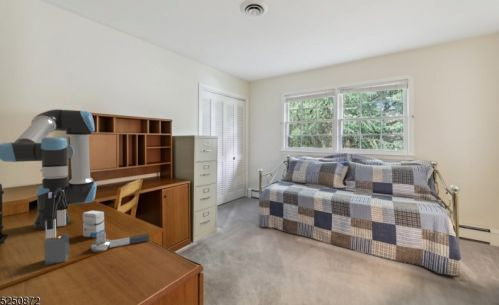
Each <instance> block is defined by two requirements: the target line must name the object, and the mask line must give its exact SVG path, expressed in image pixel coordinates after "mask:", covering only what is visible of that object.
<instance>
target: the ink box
mask: <svg viewBox="0 0 499 305" xmlns="http://www.w3.org/2000/svg"><path fill="white" fill-rule="evenodd" d="M82 229H83V230H82V231H83V232H82V233H83V234H82V236H83V237H87V238H93V239H94V238H95V239H97V233H101V232H105V211H101V210H89V211H84V212H83V213H82Z"/></svg>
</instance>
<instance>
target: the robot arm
mask: <svg viewBox="0 0 499 305" xmlns="http://www.w3.org/2000/svg"><path fill="white" fill-rule="evenodd" d="M55 131H56V132H57V131H60V132H65V134H66V136H67V137H68V138H69V143H68V139H66V137H49V135H50V134H51V133H53V132H55ZM95 131H96V129H95V122H94V117H93V115H92V113H91V112H89V111H86V110H75V109H73V110H72V109H58V108H57V109H51V110H46V111H44V112H42V113H39V114H37V115H36V116H34V117H32V120H31V123H30V125H29V126H28V127H27V128H26V130H25V131H24V132H22V134H21V135H20V136H19V137H18V138H17V139H16V140H15V141H14V142H2V143H0V160H1V161H2V162H5V163H6V162H11V163H19V162H20V163H21V162H22V163H23V162H24V163H25V162H41V168H40V170H39V171H40V172H41V174H42V176H41V177H43V178H42V183H41V184H42V185H41V186H39V187H37V191H36V199H37V200H36V201H37V202H36V203H37V214H36V218H35V219H34V223H33V229H35V230H45V239H48V238H53V237H56V235H57V228H59V227H62V226H67V225H68V224H69V223H70V222H71V220H70V216H69V213H68V212H67V210H68V209H69V206H70V205H79V204H80V205H81V204H87V203H93V202H94V201H95V198H96V194H97V193H96V192H97V186H98V183H97V182H95V181H94V179H93V178H92V177H91V165H90V164H91V163H90V137H91V136H92V135H93V134H92V133H94V132H95ZM68 160H70V165H71V166H70V167H71V179H70V180H69V178H68V177H67V176H68V175H69V167H68V166H69V165H68Z"/></svg>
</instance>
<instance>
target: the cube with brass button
mask: <svg viewBox="0 0 499 305" xmlns="http://www.w3.org/2000/svg"><path fill="white" fill-rule="evenodd" d="M69 235H70V234H69V233H63V234H56V237H53V238H46V240H45V241H44V244H43V245H44V264H45V265H46V266H50V265H49V264H51V265H55V264H54V263H56V264H60V262H62V263H65V261H66V262H67V260H68V258H69V256H70V236H69Z"/></svg>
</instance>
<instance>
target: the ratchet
mask: <svg viewBox="0 0 499 305" xmlns="http://www.w3.org/2000/svg"><path fill="white" fill-rule="evenodd" d="M106 235H107V234H106V231H104V232H101V233H97V238H96V240H95V241H94V242H92V243H91V252H94V253H101V252H104V251H107V250H109V249H112V248H116V247H123V246H127V245H134V244H139V243H144V242H145V243H146V242H149V241H150V235H149V233H144V234H137V235H131V236H129V237H123V238H117V239H112V240H111V239H108V238H106V237H107V236H106Z"/></svg>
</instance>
